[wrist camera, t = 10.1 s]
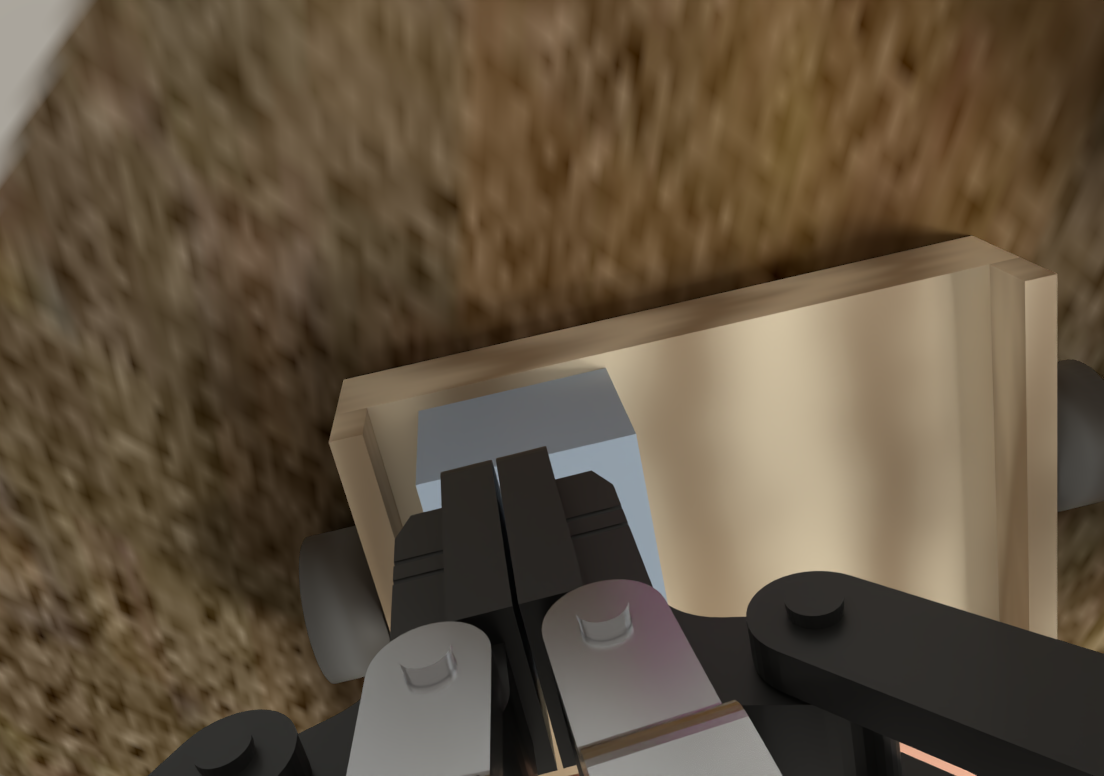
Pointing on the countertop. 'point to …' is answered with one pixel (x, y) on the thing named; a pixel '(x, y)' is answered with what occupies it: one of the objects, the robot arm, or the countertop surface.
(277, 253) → the countertop surface
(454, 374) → the flatbed
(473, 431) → the blue gray block
